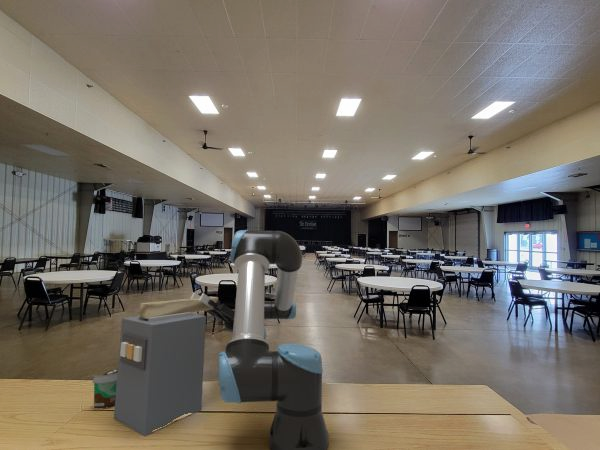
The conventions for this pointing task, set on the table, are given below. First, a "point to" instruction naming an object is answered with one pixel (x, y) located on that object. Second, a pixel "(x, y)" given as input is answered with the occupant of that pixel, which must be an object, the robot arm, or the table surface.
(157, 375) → the cabinet
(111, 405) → the food container
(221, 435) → the table surface
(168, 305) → the switch bar
